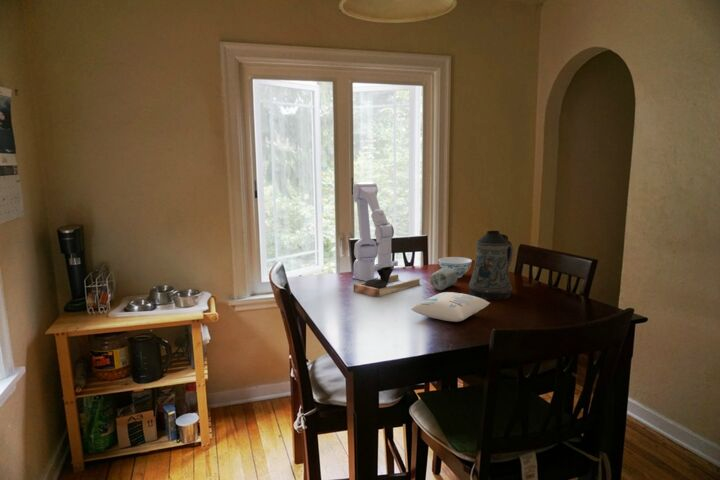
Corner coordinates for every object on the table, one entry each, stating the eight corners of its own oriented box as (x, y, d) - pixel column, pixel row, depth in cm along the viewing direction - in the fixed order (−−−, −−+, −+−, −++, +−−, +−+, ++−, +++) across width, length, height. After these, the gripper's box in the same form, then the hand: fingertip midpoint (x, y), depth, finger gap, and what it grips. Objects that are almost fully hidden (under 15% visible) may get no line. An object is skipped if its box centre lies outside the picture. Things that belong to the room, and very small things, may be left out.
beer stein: (463, 297, 176) (464, 233, 172) (475, 285, 193) (477, 227, 189) (507, 302, 168) (509, 235, 164) (516, 289, 185) (518, 229, 181)
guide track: (353, 291, 188) (353, 284, 188) (396, 279, 207) (396, 272, 206) (376, 297, 179) (376, 289, 178) (419, 284, 197) (419, 277, 197)
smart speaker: (385, 287, 192) (385, 278, 192) (387, 293, 184) (387, 283, 183) (364, 288, 192) (364, 279, 191) (365, 294, 183) (365, 284, 183)
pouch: (441, 284, 165) (411, 294, 150) (491, 294, 153) (463, 306, 138) (440, 305, 167) (410, 318, 151) (489, 317, 155) (462, 331, 139)
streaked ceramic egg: (447, 286, 180) (440, 262, 184) (428, 293, 186) (422, 270, 190) (465, 287, 190) (459, 265, 194) (447, 294, 196) (441, 272, 199)
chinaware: (472, 280, 201) (472, 263, 200) (437, 279, 204) (438, 263, 203) (470, 273, 216) (471, 257, 215) (438, 272, 219) (439, 256, 218)
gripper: (379, 257, 182) (380, 290, 184) (403, 252, 192) (403, 283, 194) (367, 255, 186) (367, 287, 189) (390, 250, 197) (390, 280, 199)
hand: (384, 285), depth 191 cm, fingers closed
